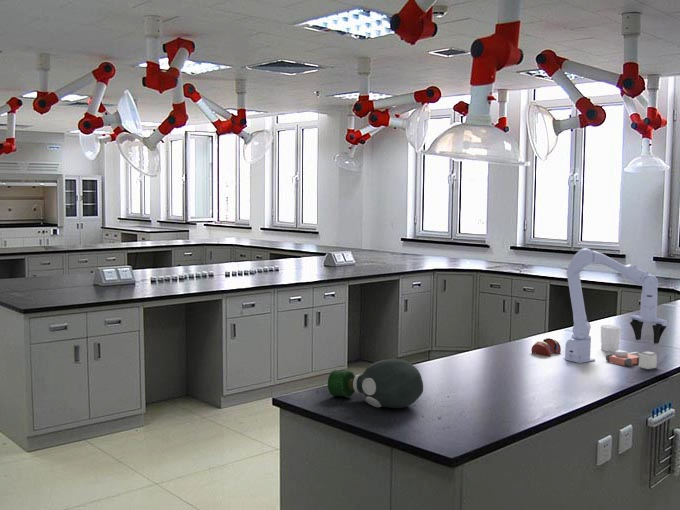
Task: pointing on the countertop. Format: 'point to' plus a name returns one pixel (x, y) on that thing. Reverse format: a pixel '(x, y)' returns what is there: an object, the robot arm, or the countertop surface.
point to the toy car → (623, 358)
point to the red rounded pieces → (546, 347)
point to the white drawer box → (647, 360)
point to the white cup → (610, 337)
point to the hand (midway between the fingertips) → (647, 341)
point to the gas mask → (380, 383)
